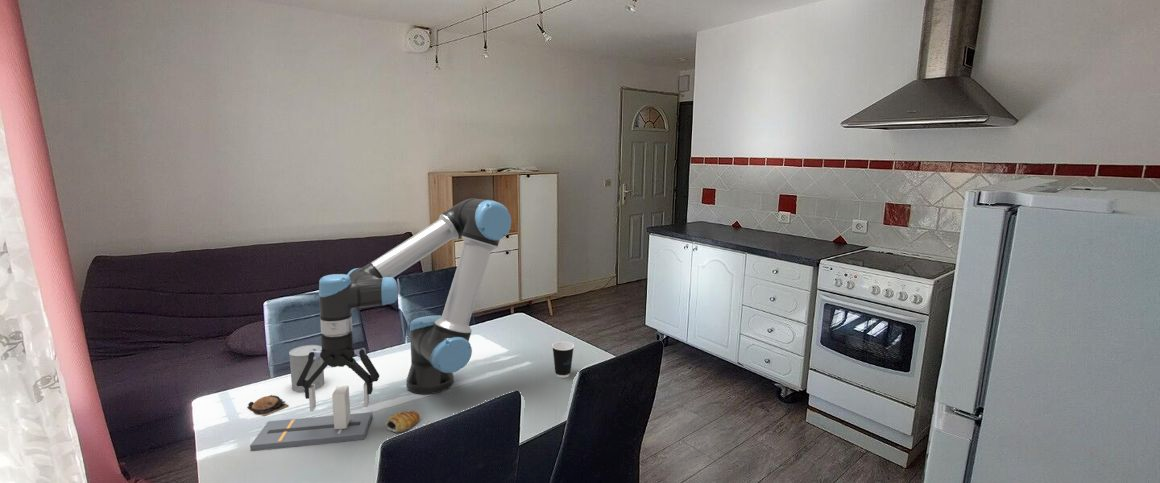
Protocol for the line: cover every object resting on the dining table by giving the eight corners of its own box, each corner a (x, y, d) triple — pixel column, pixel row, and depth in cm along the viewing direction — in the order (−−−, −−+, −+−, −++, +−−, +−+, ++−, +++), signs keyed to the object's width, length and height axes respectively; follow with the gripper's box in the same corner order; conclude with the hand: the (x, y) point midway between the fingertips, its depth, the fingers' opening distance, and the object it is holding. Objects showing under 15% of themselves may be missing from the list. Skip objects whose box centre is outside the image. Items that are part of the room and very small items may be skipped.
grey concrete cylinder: (310, 393, 156) (307, 357, 154) (284, 390, 158) (281, 354, 156) (331, 381, 165) (328, 346, 163) (306, 378, 167) (304, 343, 165)
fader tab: (350, 418, 138) (348, 385, 136) (346, 428, 133) (344, 393, 132) (339, 419, 137) (336, 386, 136) (334, 429, 132) (332, 394, 131)
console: (372, 416, 143) (371, 411, 142) (363, 439, 131) (363, 433, 131) (268, 426, 137) (268, 420, 136) (250, 450, 125) (250, 445, 125)
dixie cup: (554, 369, 178) (555, 340, 176) (576, 371, 176) (576, 342, 175) (548, 378, 170) (549, 348, 169) (571, 380, 169) (571, 350, 167)
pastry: (410, 414, 145) (409, 402, 144) (426, 421, 141) (425, 409, 141) (382, 428, 137) (382, 416, 136) (398, 436, 133) (398, 423, 133)
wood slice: (291, 407, 148) (290, 396, 148) (261, 419, 141) (260, 407, 141) (273, 398, 154) (272, 387, 153) (243, 409, 147) (242, 397, 146)
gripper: (279, 339, 125) (284, 417, 128) (384, 335, 130) (386, 409, 133) (290, 330, 132) (294, 403, 135) (388, 326, 137) (390, 397, 141)
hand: (340, 407), depth 134 cm, fingers open, 13 cm apart
